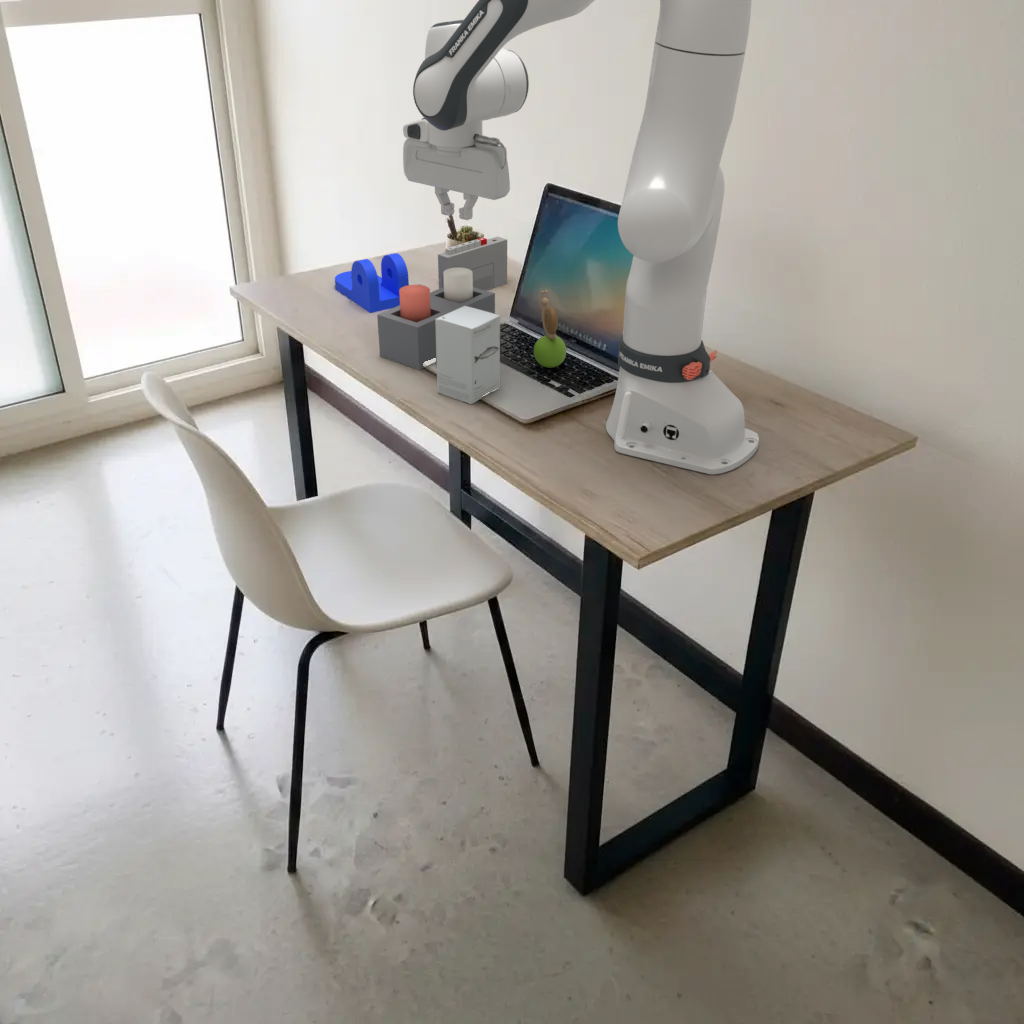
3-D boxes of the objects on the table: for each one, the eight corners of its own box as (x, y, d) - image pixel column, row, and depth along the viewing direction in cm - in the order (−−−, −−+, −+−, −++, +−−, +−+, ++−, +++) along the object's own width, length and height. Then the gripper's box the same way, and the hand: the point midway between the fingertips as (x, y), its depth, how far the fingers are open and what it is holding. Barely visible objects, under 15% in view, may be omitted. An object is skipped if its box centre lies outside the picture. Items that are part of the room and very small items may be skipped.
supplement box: (472, 405, 163) (471, 329, 156) (436, 393, 167) (433, 317, 160) (501, 389, 168) (501, 314, 161) (465, 377, 172) (464, 303, 165)
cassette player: (497, 280, 211) (497, 231, 206) (507, 284, 209) (507, 234, 204) (439, 300, 201) (437, 249, 196) (448, 303, 200) (447, 252, 195)
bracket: (409, 305, 200) (407, 258, 195) (370, 314, 196) (367, 267, 191) (366, 277, 212) (363, 233, 207) (328, 285, 208) (324, 240, 203)
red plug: (437, 326, 177) (436, 289, 174) (417, 335, 174) (415, 297, 170) (415, 319, 180) (413, 282, 176) (395, 328, 176) (393, 290, 173)
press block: (494, 333, 187) (494, 293, 183) (419, 370, 174) (417, 327, 170) (456, 321, 192) (455, 282, 188) (379, 356, 179) (377, 314, 175)
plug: (478, 307, 184) (478, 271, 181) (460, 315, 181) (459, 279, 178) (457, 301, 187) (456, 265, 184) (438, 309, 184) (437, 273, 180)
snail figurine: (557, 355, 179) (559, 288, 173) (570, 370, 174) (573, 301, 168) (527, 359, 178) (528, 291, 171) (539, 374, 173) (541, 305, 166)
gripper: (518, 136, 165) (517, 223, 172) (421, 118, 175) (424, 201, 183) (493, 143, 161) (493, 233, 168) (395, 125, 171) (399, 210, 179)
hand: (456, 216), depth 175 cm, fingers open, 3 cm apart
